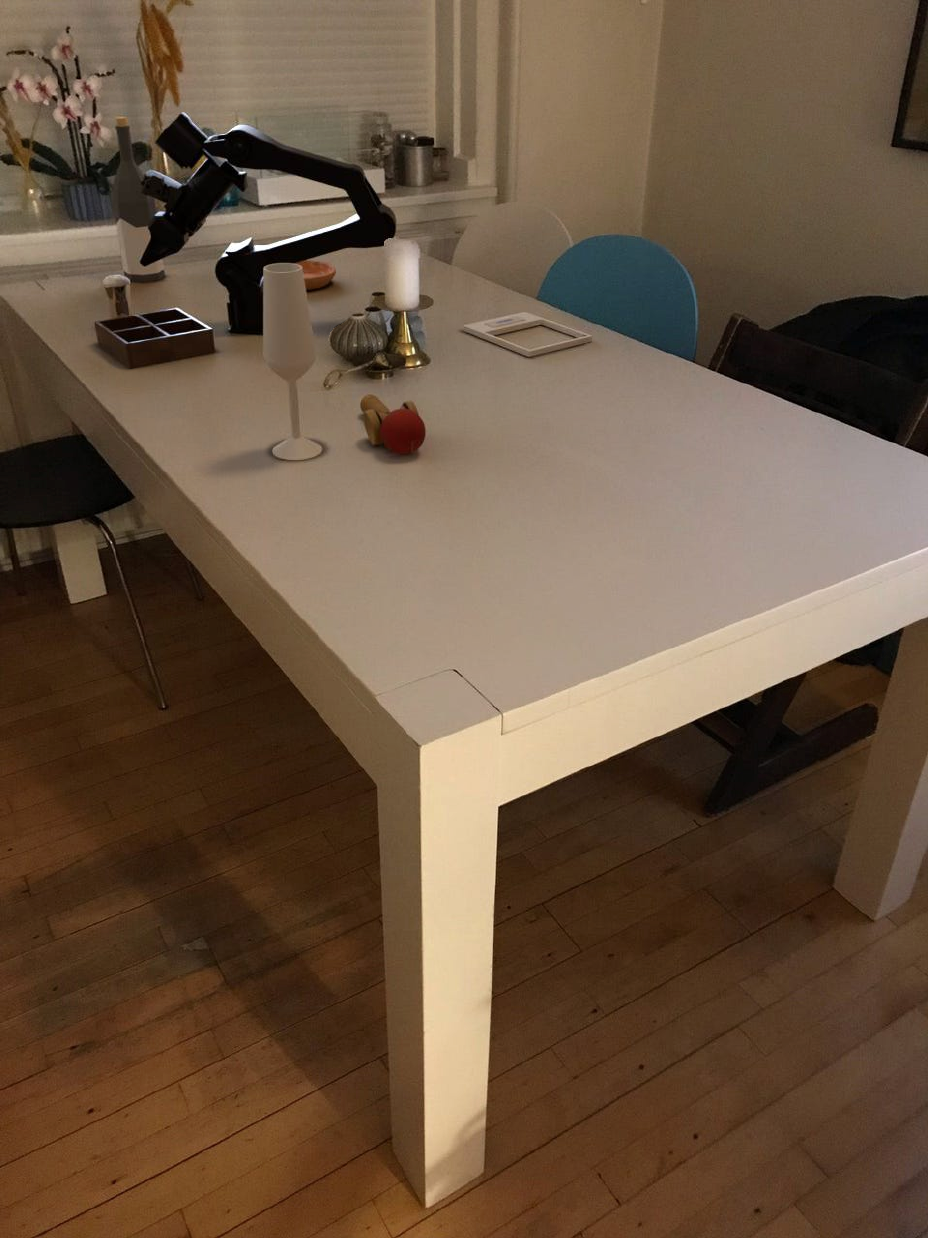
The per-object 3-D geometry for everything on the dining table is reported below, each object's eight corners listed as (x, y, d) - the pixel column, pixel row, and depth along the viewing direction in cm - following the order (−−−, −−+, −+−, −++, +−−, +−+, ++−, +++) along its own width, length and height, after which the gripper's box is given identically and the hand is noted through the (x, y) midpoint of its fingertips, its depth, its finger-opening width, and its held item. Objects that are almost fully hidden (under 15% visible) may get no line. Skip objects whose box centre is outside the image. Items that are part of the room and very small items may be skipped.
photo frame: (525, 310, 192) (592, 334, 180) (524, 316, 193) (592, 341, 181) (463, 324, 184) (529, 350, 173) (463, 330, 185) (529, 356, 173)
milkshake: (140, 330, 183) (131, 273, 178) (108, 331, 182) (98, 273, 177) (142, 323, 187) (134, 266, 182) (112, 324, 186) (102, 267, 181)
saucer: (252, 276, 216) (251, 261, 214) (328, 271, 220) (327, 256, 218) (263, 296, 203) (262, 280, 201) (343, 290, 207) (343, 275, 205)
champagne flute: (267, 443, 141) (250, 263, 128) (315, 437, 143) (303, 259, 130) (277, 462, 136) (261, 276, 123) (327, 456, 138) (316, 272, 125)
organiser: (180, 330, 184) (177, 307, 182) (215, 352, 174) (212, 328, 172) (98, 344, 176) (94, 321, 174) (129, 368, 166) (125, 344, 164)
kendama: (340, 427, 150) (379, 457, 135) (344, 383, 148) (383, 409, 132) (390, 429, 153) (434, 459, 138) (395, 386, 151) (439, 412, 135)
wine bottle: (173, 276, 215) (151, 116, 199) (144, 284, 209) (119, 121, 193) (145, 270, 218) (122, 113, 202) (116, 278, 212) (89, 117, 196)
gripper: (178, 144, 177) (124, 211, 183) (152, 162, 162) (93, 235, 167) (229, 193, 182) (175, 257, 187) (208, 215, 166) (150, 285, 172)
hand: (148, 257), depth 178 cm, fingers open, 9 cm apart
